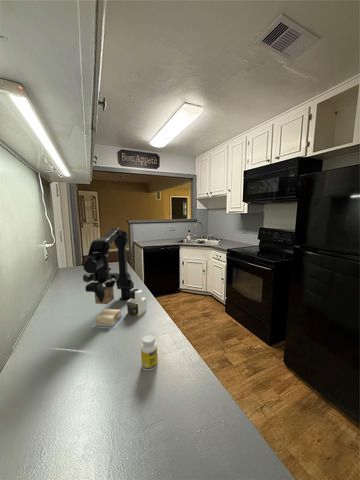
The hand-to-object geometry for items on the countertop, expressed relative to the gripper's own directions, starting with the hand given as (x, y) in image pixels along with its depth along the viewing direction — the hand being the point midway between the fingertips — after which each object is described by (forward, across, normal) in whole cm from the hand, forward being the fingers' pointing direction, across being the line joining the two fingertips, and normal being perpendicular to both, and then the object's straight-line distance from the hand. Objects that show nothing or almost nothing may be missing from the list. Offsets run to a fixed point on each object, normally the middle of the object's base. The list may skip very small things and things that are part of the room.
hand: (105, 299), depth 95 cm
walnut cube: (+1, 0, 0) cm, 1 cm away
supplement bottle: (+12, +23, +30) cm, 40 cm away
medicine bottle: (+11, -10, +11) cm, 19 cm away
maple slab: (+11, 0, +2) cm, 11 cm away
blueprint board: (+11, 0, +2) cm, 11 cm away
